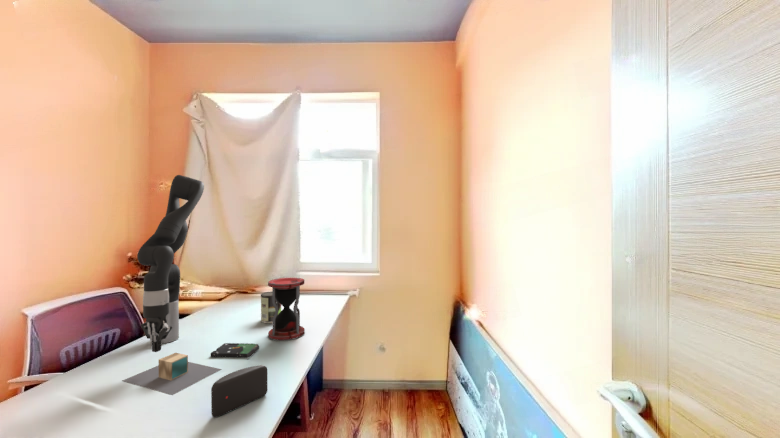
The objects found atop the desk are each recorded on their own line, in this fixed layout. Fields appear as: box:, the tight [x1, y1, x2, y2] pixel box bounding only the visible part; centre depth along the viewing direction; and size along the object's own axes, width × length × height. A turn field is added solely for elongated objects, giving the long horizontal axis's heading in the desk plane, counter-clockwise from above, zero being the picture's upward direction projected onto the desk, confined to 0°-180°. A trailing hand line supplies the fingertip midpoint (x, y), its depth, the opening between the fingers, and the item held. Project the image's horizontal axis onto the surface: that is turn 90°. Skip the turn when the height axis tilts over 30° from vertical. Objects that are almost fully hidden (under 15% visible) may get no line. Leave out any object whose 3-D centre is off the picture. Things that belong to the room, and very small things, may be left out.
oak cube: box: [158, 352, 189, 380], centre depth 113 cm, size 6×6×6 cm
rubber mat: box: [121, 361, 222, 396], centre depth 113 cm, size 24×18×1 cm
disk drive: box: [210, 342, 260, 360], centre depth 132 cm, size 10×3×15 cm
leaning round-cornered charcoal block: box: [210, 364, 268, 418], centre depth 97 cm, size 16×5×9 cm, turn 140°
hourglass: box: [267, 277, 306, 341], centre depth 153 cm, size 16×16×25 cm
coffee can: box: [260, 291, 282, 324], centre depth 174 cm, size 10×10×14 cm
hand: (156, 351), depth 117 cm, fingers closed
